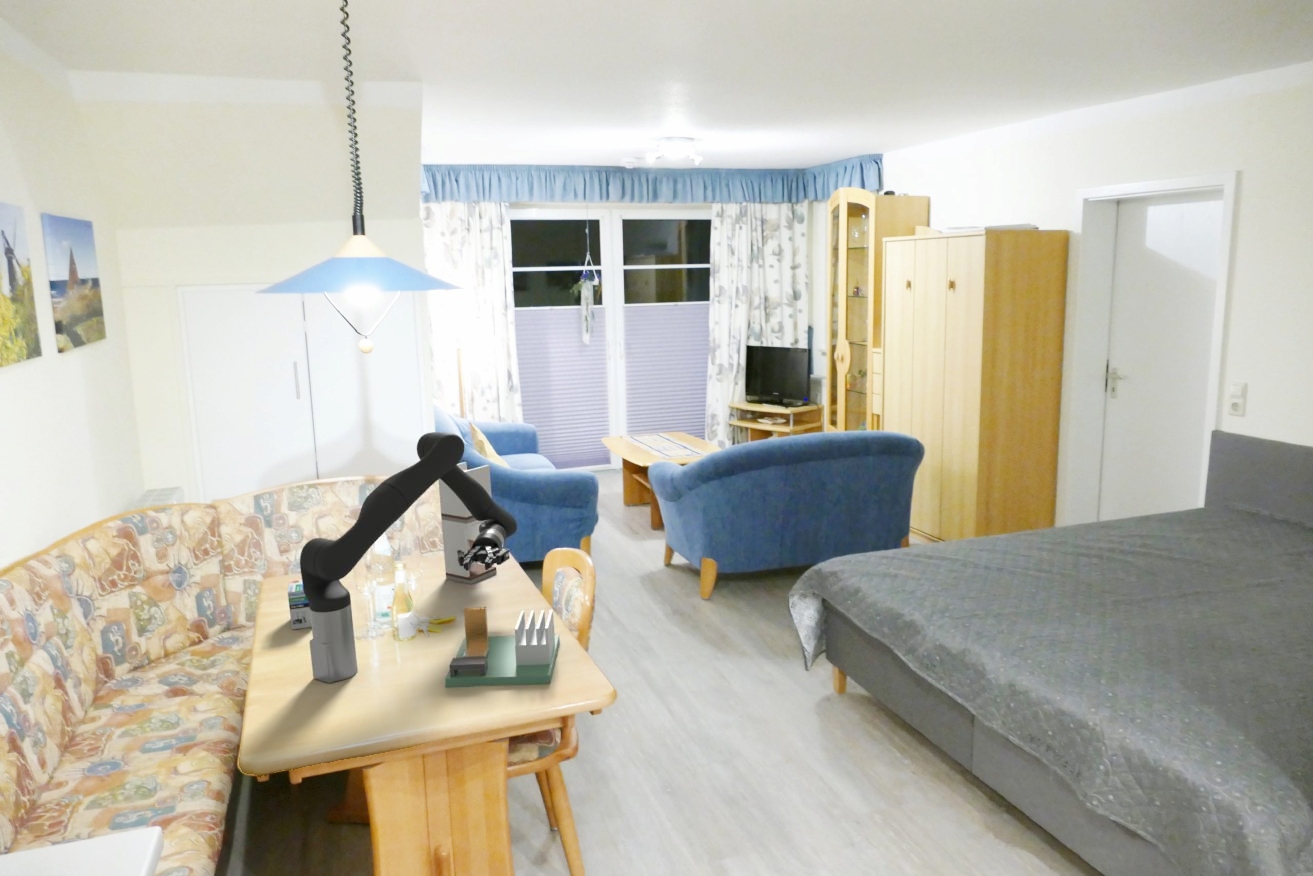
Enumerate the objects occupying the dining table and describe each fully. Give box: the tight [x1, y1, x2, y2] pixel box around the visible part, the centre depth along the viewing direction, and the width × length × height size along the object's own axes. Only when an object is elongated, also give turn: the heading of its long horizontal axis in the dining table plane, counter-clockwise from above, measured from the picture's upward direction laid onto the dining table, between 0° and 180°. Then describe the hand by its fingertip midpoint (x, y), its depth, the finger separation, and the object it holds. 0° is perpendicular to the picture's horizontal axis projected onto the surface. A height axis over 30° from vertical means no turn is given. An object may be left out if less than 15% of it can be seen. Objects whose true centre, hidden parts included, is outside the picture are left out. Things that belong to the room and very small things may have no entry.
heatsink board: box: [444, 609, 561, 688], centre depth 220 cm, size 24×24×11 cm
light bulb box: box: [287, 579, 312, 630], centre depth 251 cm, size 11×7×11 cm, turn 19°
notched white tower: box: [437, 461, 498, 585], centre depth 283 cm, size 11×11×35 cm
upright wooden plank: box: [463, 606, 489, 657], centre depth 220 cm, size 6×5×11 cm
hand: (476, 566), depth 225 cm, fingers open, 4 cm apart
